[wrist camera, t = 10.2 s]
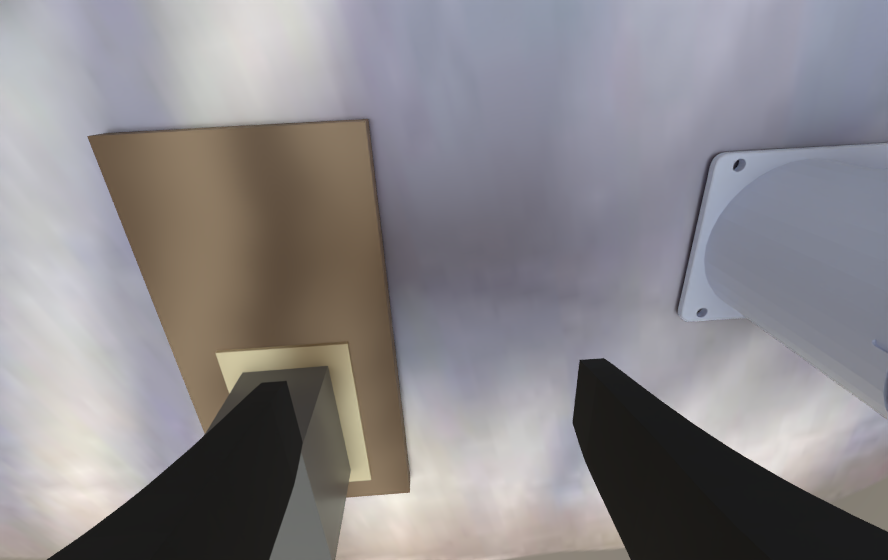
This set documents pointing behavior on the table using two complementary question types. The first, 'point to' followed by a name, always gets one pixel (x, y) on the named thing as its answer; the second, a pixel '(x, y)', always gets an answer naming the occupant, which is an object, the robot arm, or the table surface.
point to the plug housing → (307, 462)
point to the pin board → (269, 267)
